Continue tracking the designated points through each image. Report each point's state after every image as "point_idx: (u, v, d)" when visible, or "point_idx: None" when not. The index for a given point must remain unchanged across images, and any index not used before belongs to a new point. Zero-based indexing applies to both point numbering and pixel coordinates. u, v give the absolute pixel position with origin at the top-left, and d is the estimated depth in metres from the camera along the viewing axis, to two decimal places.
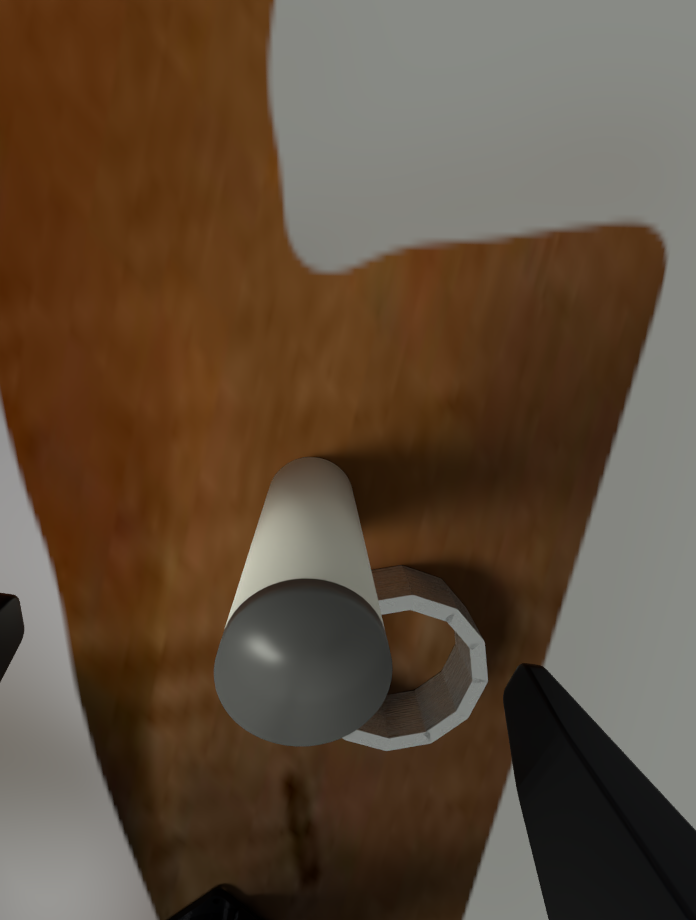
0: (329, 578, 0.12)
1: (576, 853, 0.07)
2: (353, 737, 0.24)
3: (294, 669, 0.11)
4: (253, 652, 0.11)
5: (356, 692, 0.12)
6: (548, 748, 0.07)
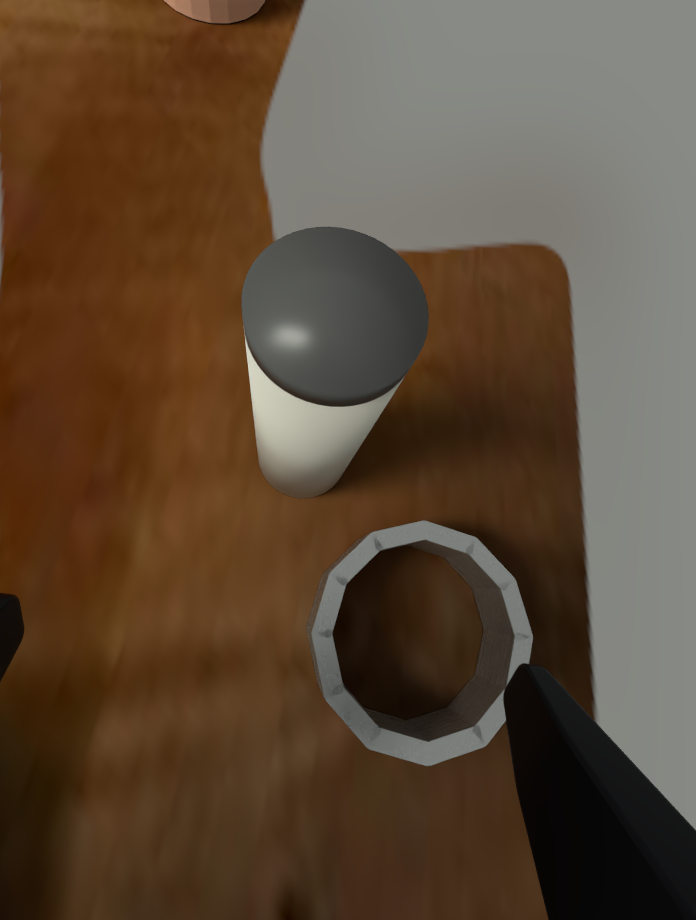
0: None
1: (576, 853, 0.07)
2: (380, 743, 0.18)
3: (327, 300, 0.11)
4: (283, 278, 0.11)
5: (394, 330, 0.11)
6: (548, 748, 0.07)
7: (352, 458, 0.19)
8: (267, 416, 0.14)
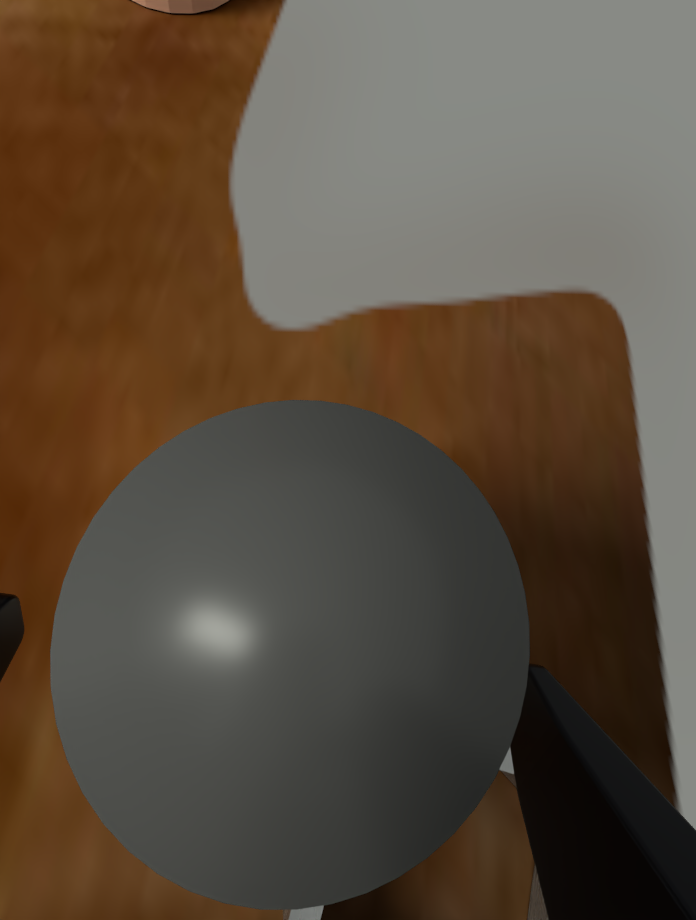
0: None
1: (576, 853, 0.07)
2: None
3: (283, 604, 0.04)
4: (173, 554, 0.04)
5: (450, 672, 0.04)
6: (548, 748, 0.07)
7: None
8: None
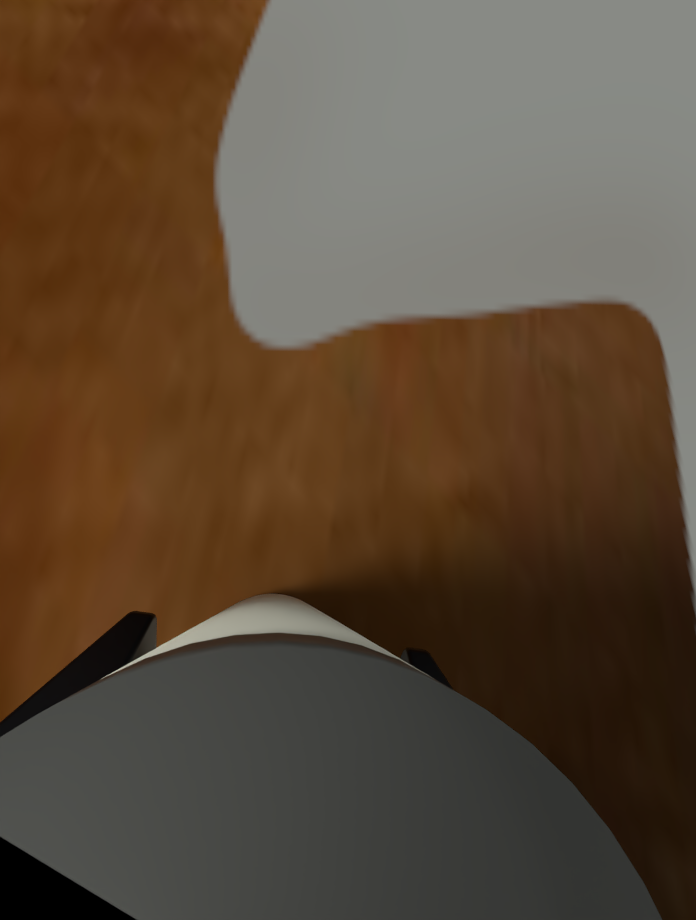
0: (338, 638, 0.03)
1: None
2: None
3: None
4: None
5: None
6: None
7: None
8: None
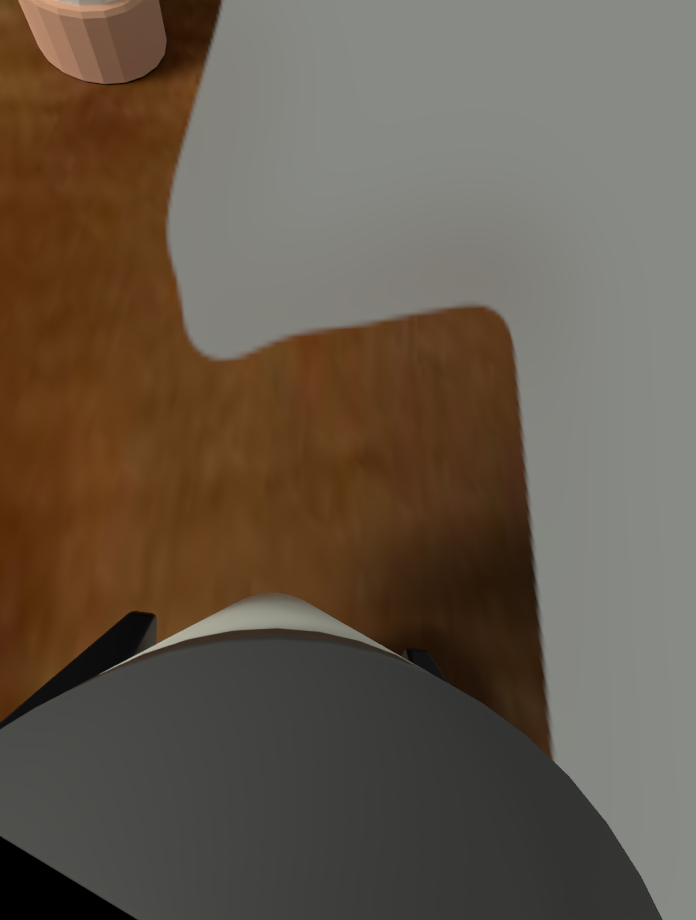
0: (336, 634, 0.03)
1: None
2: None
3: None
4: None
5: None
6: None
7: None
8: None
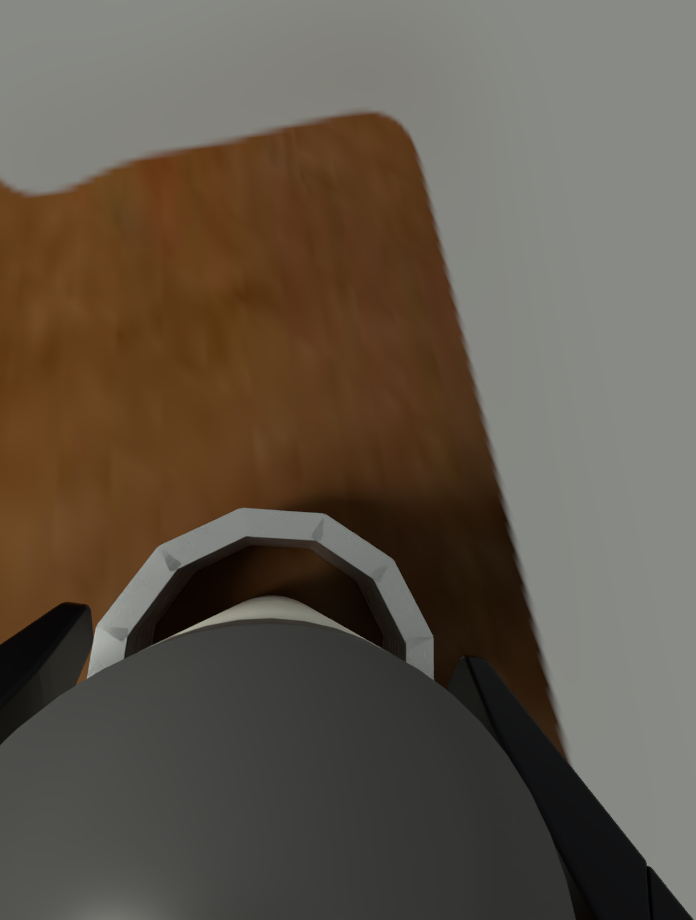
0: (318, 623, 0.04)
1: None
2: None
3: None
4: None
5: None
6: None
7: None
8: None
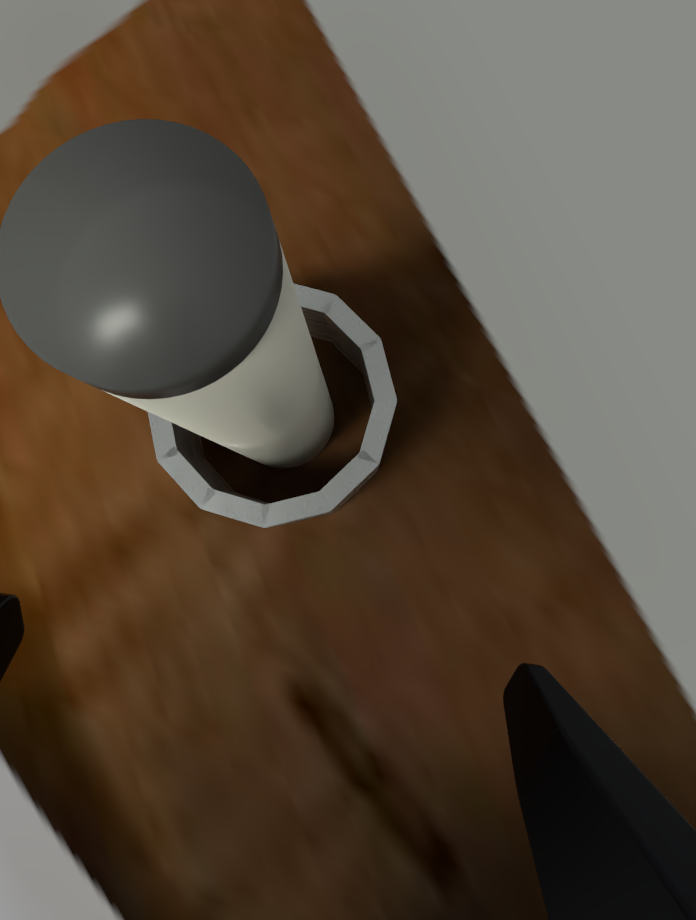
0: None
1: (576, 853, 0.07)
2: (273, 517, 0.17)
3: (115, 245, 0.07)
4: (47, 237, 0.07)
5: (224, 251, 0.07)
6: (548, 748, 0.07)
7: (323, 411, 0.16)
8: None
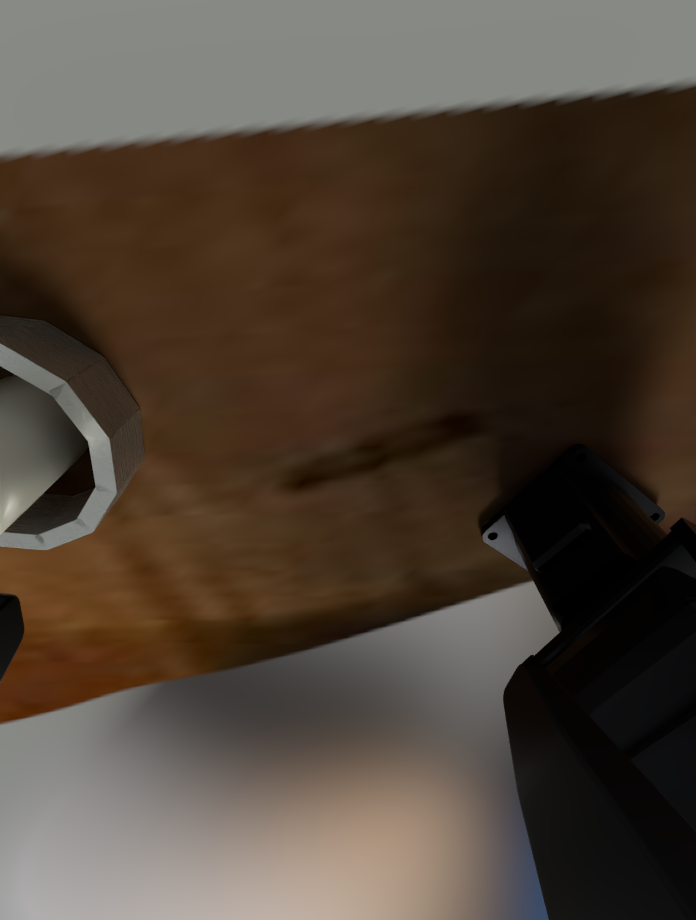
0: None
1: (576, 853, 0.07)
2: (108, 484, 0.18)
3: None
4: None
5: None
6: (548, 748, 0.07)
7: None
8: None
